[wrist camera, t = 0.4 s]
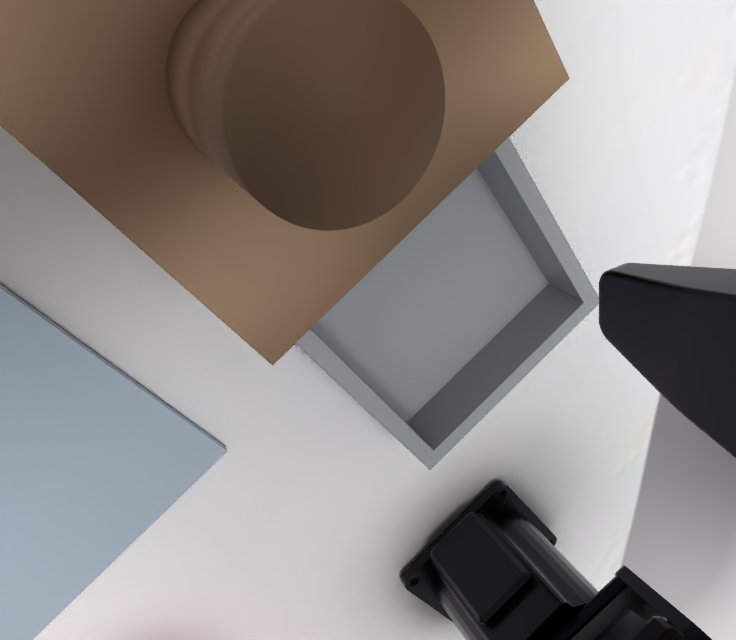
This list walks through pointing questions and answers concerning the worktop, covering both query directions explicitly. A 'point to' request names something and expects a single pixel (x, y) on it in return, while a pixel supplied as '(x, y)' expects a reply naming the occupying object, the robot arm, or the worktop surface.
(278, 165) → the brown knobbed box
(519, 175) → the tray
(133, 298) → the worktop surface
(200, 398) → the worktop surface
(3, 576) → the mat
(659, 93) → the worktop surface
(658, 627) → the robot arm
